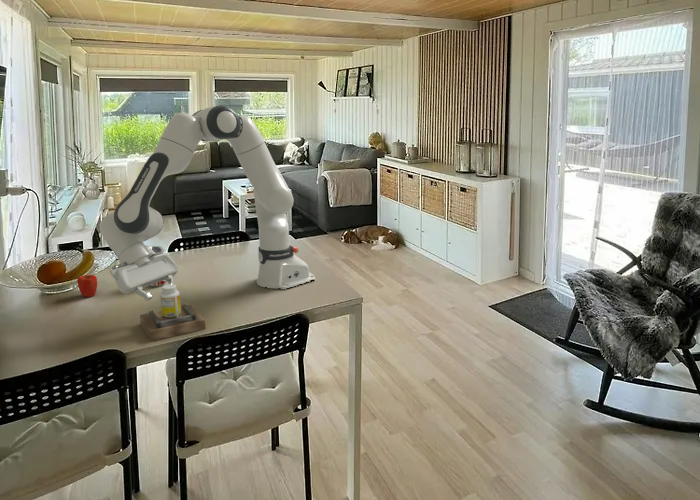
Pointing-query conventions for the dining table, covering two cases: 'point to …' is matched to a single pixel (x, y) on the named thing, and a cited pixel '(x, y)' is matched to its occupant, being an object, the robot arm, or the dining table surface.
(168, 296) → the supplement bottle
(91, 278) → the apple
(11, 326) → the dining table surface
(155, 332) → the dock
